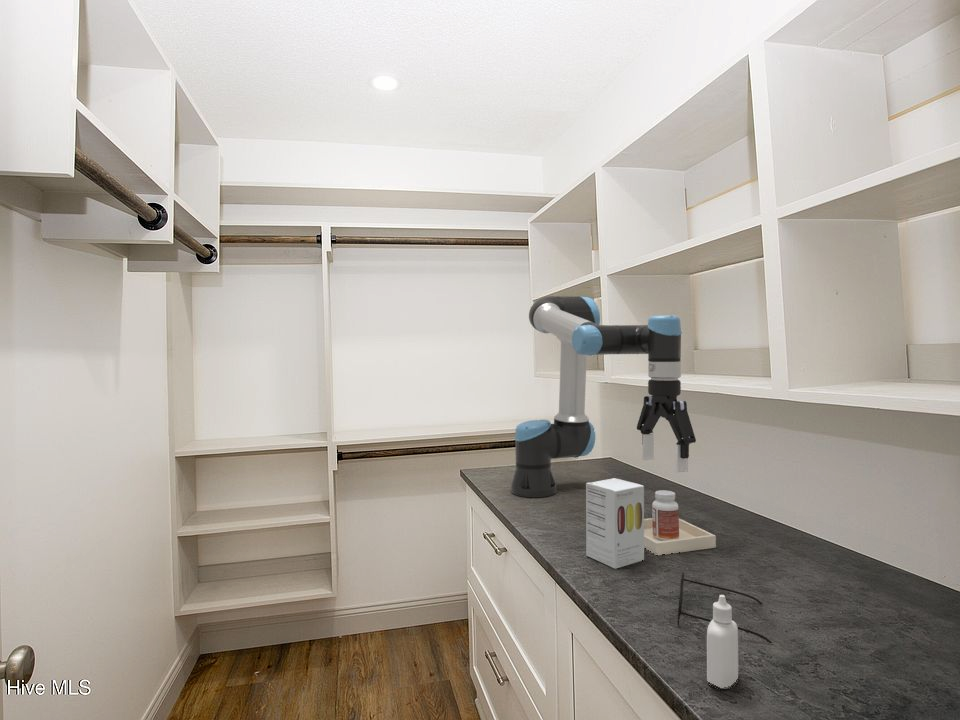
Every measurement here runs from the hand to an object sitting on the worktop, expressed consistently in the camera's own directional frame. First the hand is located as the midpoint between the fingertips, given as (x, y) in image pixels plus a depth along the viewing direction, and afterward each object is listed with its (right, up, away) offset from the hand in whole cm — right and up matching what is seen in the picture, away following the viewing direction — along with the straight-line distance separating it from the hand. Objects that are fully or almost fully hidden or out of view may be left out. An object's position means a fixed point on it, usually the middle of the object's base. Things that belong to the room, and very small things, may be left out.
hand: (664, 465), depth 130 cm
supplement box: (-15, -19, -11) cm, 26 cm away
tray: (0, -18, 0) cm, 18 cm away
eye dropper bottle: (-11, -20, -55) cm, 60 cm away
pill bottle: (0, -18, 0) cm, 18 cm away
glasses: (-3, -20, -37) cm, 42 cm away
